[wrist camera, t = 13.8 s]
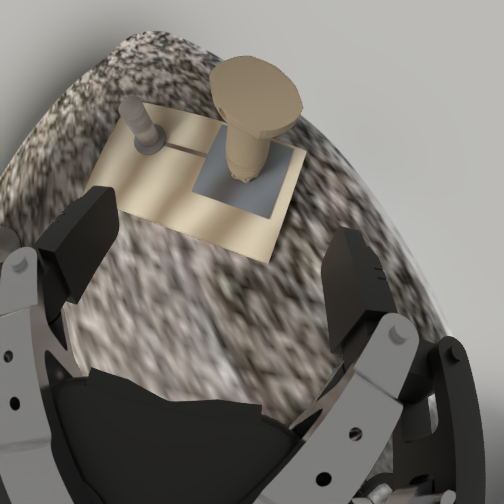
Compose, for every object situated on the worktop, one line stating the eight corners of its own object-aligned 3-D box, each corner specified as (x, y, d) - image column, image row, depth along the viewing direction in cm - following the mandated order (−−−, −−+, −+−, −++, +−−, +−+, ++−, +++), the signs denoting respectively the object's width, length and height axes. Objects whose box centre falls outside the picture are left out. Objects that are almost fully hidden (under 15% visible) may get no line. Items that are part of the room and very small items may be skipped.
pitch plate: (87, 197, 29) (46, 176, 20) (133, 105, 31) (110, 64, 21) (266, 263, 31) (281, 261, 21) (303, 155, 32) (328, 118, 22)
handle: (243, 205, 29) (254, 144, 14) (210, 160, 29) (194, 75, 14) (278, 181, 29) (318, 108, 15) (245, 138, 30) (255, 48, 15)
